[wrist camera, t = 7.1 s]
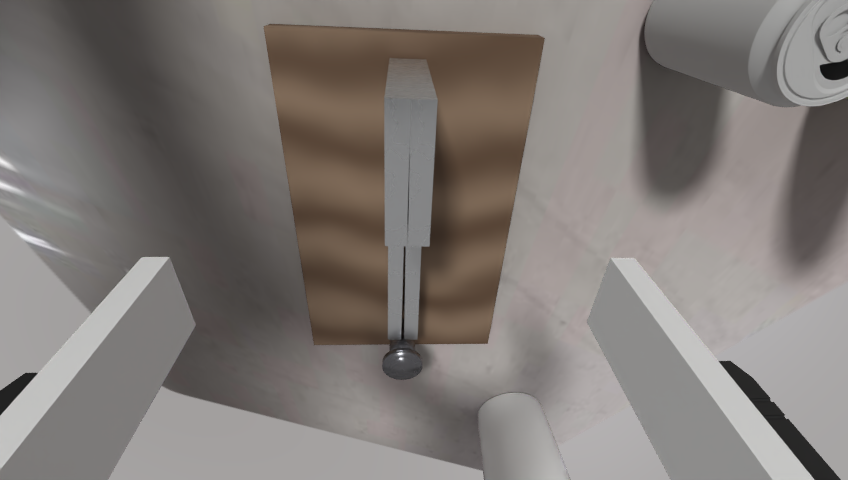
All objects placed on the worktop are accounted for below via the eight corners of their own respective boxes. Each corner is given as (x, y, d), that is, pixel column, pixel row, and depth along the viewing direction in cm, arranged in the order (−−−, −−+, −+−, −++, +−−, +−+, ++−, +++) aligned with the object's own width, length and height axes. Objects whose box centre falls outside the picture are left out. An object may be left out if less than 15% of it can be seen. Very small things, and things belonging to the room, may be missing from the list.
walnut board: (270, 23, 26) (263, 26, 25) (538, 34, 28) (544, 38, 26) (316, 333, 42) (314, 344, 41) (485, 332, 44) (487, 343, 42)
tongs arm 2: (416, 315, 39) (420, 408, 31) (404, 315, 39) (404, 408, 31) (426, 59, 26) (437, 99, 18) (407, 58, 26) (411, 99, 18)
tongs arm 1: (401, 315, 39) (401, 408, 31) (388, 315, 39) (385, 408, 31) (408, 58, 26) (411, 99, 18) (389, 58, 26) (384, 97, 18)
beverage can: (667, 85, 30) (800, 142, 20) (620, 20, 27) (746, 47, 17) (751, 12, 27) (951, 35, 17) (708, -67, 25) (914, -93, 15)
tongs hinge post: (419, 339, 42) (421, 380, 37) (384, 339, 41) (382, 380, 37) (420, 313, 40) (423, 354, 35) (384, 314, 39) (382, 354, 35)
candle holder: (496, 379, 48) (521, 486, 38) (562, 398, 51) (601, 502, 41) (457, 424, 53) (470, 528, 43) (519, 439, 56) (545, 540, 46)
